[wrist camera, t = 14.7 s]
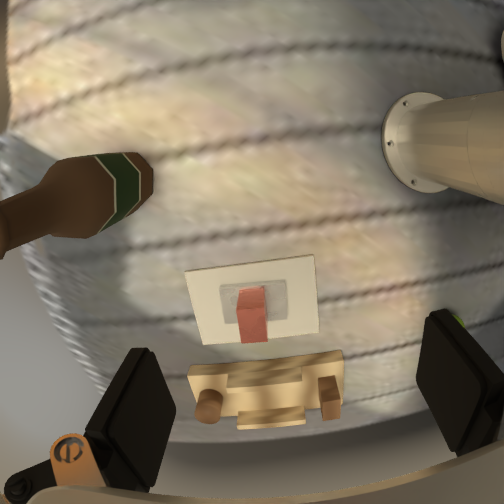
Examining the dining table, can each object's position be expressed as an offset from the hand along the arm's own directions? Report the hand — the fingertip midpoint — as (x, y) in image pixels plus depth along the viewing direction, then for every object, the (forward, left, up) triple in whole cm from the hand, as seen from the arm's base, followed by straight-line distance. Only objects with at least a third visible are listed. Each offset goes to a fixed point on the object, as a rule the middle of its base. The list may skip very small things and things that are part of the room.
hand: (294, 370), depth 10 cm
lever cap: (+4, +11, -28) cm, 30 cm away
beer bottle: (+17, -6, -28) cm, 34 cm away
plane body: (+4, +26, -28) cm, 39 cm away
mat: (+4, +12, -28) cm, 31 cm away
